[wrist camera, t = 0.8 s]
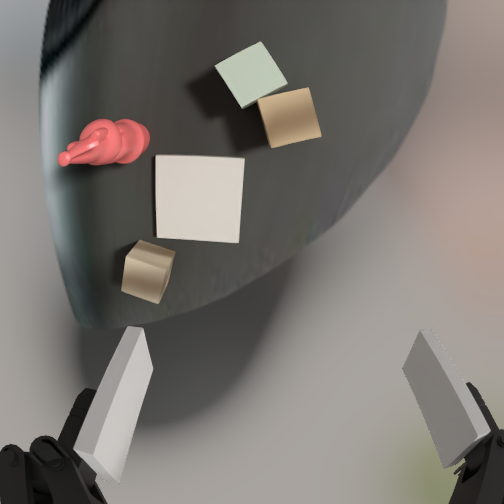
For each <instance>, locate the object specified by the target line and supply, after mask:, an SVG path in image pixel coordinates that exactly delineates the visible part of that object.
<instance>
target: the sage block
mask: <svg viewBox="0 0 504 504" xmlns="http://www.w3.org/2000/svg"><path fill="white" fill-rule="evenodd" d="M215 67H216V69H217V70H218V72H219V73H220V75H221V76H222V78H223V79H224V81H225V82H226V84H227V86H228V87H229V89H230V90H231V92H232V93H233V95H234V97H235V98H236V100H237V101H238V103H239V105H240V106H241V108H242V109H245V108H246V107H248V106H250V105H252V104H254V103H256V102H257V99H260V98H264V97H267V96H269V95H271V94H273V93H275V92H277V91H279V90H281V89H283V88H284V87H285V86H286V85H287V84H288V83H287V81H286V80H285V78H284V76H283V75H282V73H281V72H280V70H279V68H278V67H277V65H276V64H275V62H274V60H273V59H272V57H271V56H270V54H269V53H268V51H267V50H266V48H265V47H264V45H263V44H262V42H259V43H257V44H255V45H253V46H251V47H249V48H247V49H245V50H243V51H241V52H239V53H237V54H235V55H233V56H231V57H230V58H228V59H226V60H224V61H222V62H220V63H219V64H217V65H215Z"/></svg>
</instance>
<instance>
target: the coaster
mask: <svg viewBox="0 0 504 504" xmlns="http://www.w3.org/2000/svg"><path fill="white" fill-rule="evenodd" d="M244 162H245V158H242V157H226V156H205V155H167V154H158V155H156V221H157V238H173V239H187V240H202V241H216V242H231V243H239V232H240V217H241V203H242V189H243V175H244Z"/></svg>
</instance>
